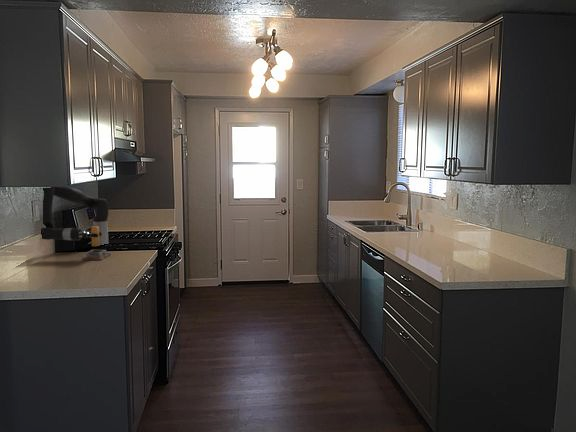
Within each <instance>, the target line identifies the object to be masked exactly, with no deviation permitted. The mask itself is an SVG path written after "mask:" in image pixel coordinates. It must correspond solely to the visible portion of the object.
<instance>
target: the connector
mask: <svg viewBox="0 0 576 432" xmlns="http://www.w3.org/2000/svg"><path fill="white" fill-rule="evenodd" d="M90 228H91V229H90V231H91V233H93V234H98V237H91V247H101V246H100V245H99V226H94V225H93V226H90Z"/></svg>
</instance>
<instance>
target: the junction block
mask: <svg viewBox="0 0 576 432" xmlns="http://www.w3.org/2000/svg"><path fill="white" fill-rule="evenodd" d="M85 254H86V256H84V257H82V258H81V261H103V260H104V259H106V258H108V257H110V256H111V255H112V254H111V252H110V253H108V252H107V249H91V250H89V251H87V252H86V253H85Z"/></svg>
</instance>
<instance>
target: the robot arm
mask: <svg viewBox="0 0 576 432" xmlns="http://www.w3.org/2000/svg"><path fill="white" fill-rule="evenodd" d="M66 186H67V185H66ZM43 191H44V192H43V196H42V197H43V199H42V202H43V224H44V225H45V226H46V228H43V227H42V228H40V229H41V235H42V239H41V240H49V241H50V240H59V241H60V240H61V241H63V240H64V241H81V240H82V239H90V238H91V239H92V237H98V234H93V233H91V230H83V231H82V228H77V227H76V228H74V227H68V228H63V227H62V228H54V224H53V203H54V197H56V198H60V199H63V200H65V201H67V202H71V203H74V204H77V205H81V206H84V207H86V208H89V209H91V210H92V211H94V212H96V215H95V216H93V218H92V219H93V220H92V221H93V222H92V223H93V226H99V245H104V244H108V245H109V231H108V230H109V229H108V224H109V223H108V218H109V202H108V201H107V199H106V198H99V197H93V196H90V195H87V194H86V193H84V192H83V191H81V190H79V189H77V188H75V187H72V186H67V187H51V188H43Z"/></svg>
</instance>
